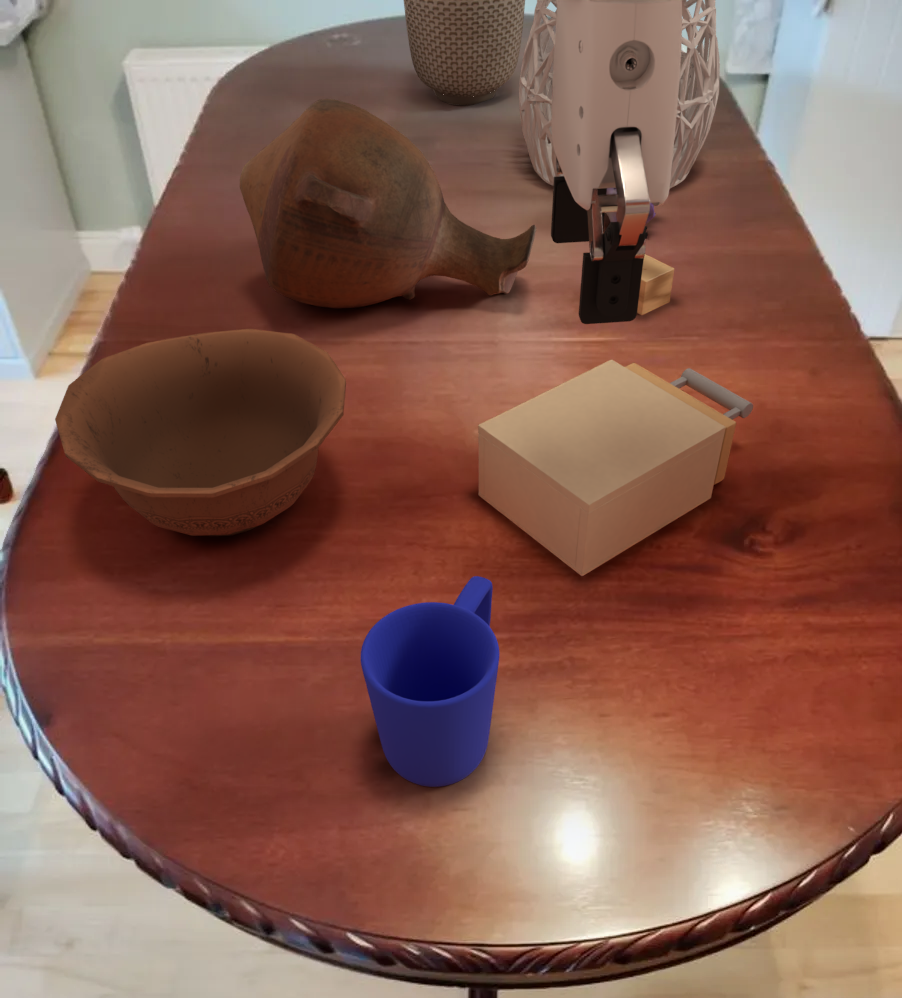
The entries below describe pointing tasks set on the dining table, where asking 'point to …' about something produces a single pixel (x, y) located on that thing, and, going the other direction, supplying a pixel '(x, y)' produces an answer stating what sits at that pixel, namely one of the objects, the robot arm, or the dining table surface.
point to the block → (654, 285)
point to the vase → (704, 96)
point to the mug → (434, 685)
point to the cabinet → (598, 463)
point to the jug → (362, 215)
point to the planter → (464, 45)
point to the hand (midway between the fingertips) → (590, 277)
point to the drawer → (711, 391)
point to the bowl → (205, 426)
